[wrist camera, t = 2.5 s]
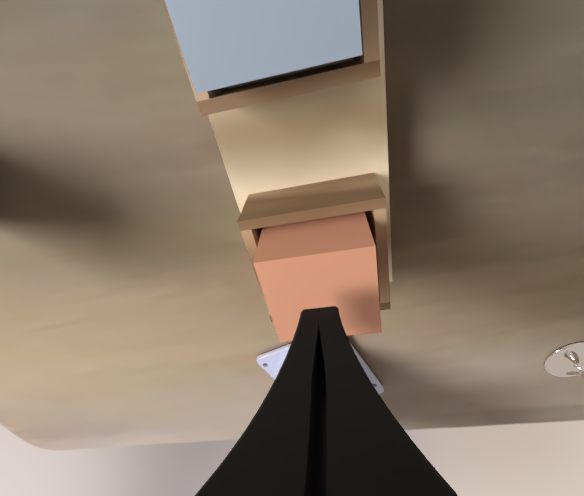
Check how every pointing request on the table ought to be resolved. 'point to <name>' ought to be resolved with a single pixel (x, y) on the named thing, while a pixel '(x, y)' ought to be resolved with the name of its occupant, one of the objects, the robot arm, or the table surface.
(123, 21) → the table surface
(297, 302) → the terracotta key
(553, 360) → the wineglass
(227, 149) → the wooden socket board
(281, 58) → the slate key
